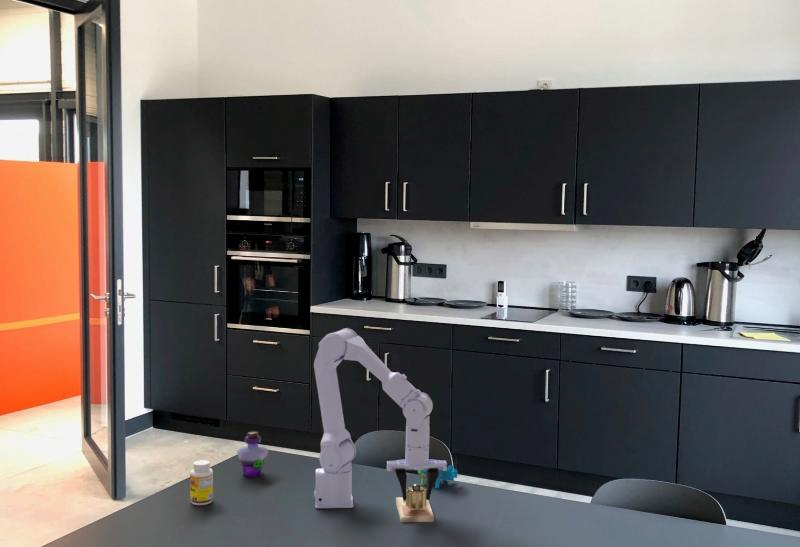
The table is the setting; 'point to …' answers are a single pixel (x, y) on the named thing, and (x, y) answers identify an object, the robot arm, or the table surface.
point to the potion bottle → (252, 456)
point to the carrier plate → (414, 512)
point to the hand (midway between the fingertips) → (415, 498)
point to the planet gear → (415, 497)
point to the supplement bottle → (201, 483)
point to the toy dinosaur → (440, 475)
